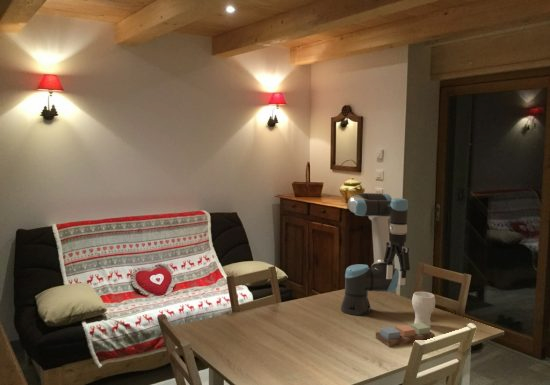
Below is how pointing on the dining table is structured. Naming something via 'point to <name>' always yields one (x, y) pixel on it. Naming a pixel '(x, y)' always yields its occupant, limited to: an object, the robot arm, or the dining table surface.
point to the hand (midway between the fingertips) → (395, 281)
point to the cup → (423, 307)
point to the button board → (403, 339)
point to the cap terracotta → (405, 330)
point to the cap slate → (389, 333)
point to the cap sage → (421, 328)
